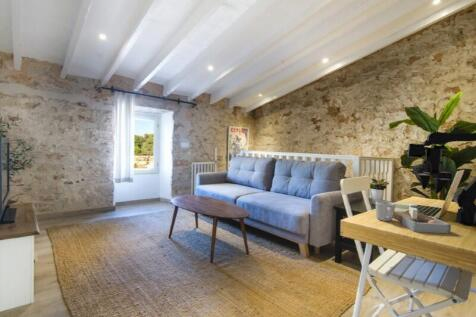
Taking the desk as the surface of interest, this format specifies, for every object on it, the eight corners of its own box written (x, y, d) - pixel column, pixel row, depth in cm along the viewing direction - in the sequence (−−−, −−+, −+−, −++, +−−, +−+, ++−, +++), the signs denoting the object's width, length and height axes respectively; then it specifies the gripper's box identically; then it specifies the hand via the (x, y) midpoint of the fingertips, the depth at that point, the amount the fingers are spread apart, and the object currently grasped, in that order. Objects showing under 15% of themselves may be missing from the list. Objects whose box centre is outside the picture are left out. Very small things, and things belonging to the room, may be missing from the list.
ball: (437, 229, 105) (430, 230, 108) (441, 224, 106) (434, 225, 109) (431, 222, 106) (423, 224, 109) (434, 217, 107) (427, 219, 110)
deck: (419, 217, 125) (419, 211, 124) (438, 226, 112) (439, 220, 111) (389, 216, 125) (389, 210, 125) (405, 224, 112) (405, 218, 112)
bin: (435, 226, 112) (435, 218, 111) (450, 233, 103) (451, 224, 103) (401, 224, 112) (402, 216, 112) (413, 231, 104) (414, 223, 104)
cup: (399, 225, 112) (401, 207, 111) (379, 223, 113) (381, 205, 113) (390, 218, 122) (391, 201, 121) (372, 216, 124) (373, 200, 123)
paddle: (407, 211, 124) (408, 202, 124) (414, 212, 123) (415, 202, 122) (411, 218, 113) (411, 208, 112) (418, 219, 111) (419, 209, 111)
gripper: (404, 156, 132) (401, 186, 133) (429, 159, 113) (425, 194, 114) (426, 157, 131) (424, 187, 132) (455, 160, 113) (452, 195, 114)
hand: (430, 191), depth 123 cm, fingers open, 9 cm apart
